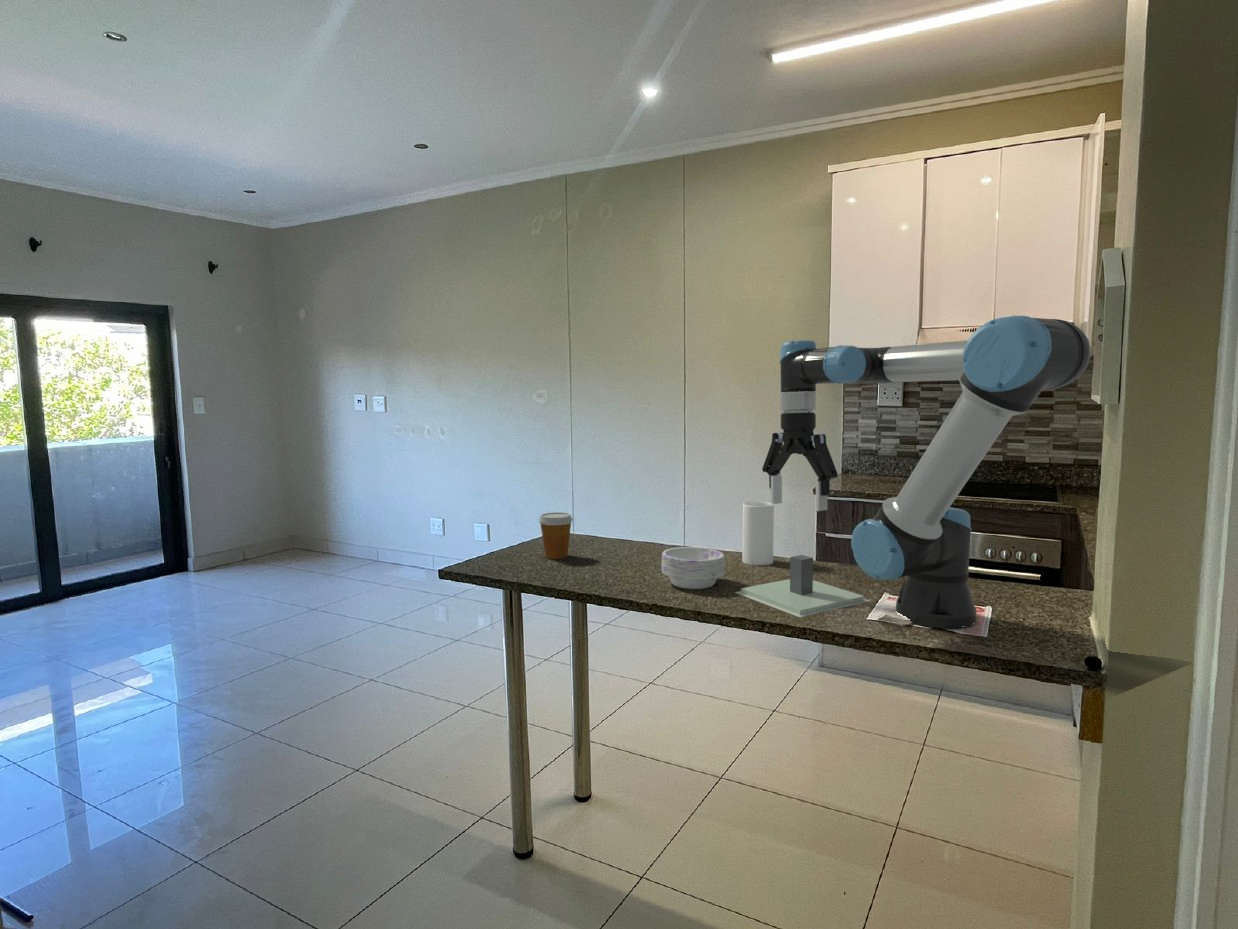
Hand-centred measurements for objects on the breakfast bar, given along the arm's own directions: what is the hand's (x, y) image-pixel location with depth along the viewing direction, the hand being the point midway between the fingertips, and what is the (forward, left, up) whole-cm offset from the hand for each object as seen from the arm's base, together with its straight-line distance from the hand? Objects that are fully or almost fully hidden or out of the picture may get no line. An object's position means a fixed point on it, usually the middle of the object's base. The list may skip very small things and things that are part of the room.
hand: (798, 507), depth 160 cm
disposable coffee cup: (+65, +30, -21) cm, 74 cm away
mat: (-1, 0, -21) cm, 21 cm away
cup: (+30, -14, -21) cm, 39 cm away
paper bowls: (+21, +14, -21) cm, 33 cm away
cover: (-1, 0, -20) cm, 20 cm away
